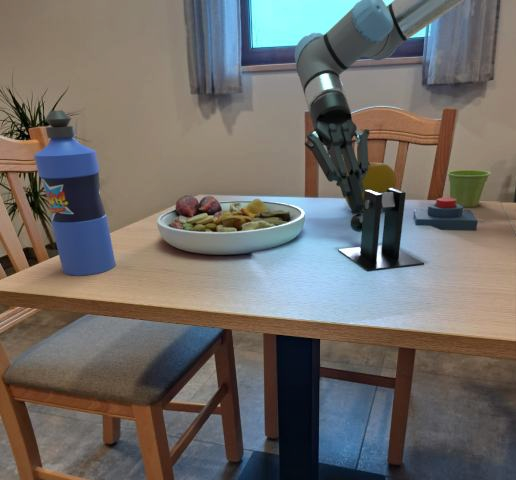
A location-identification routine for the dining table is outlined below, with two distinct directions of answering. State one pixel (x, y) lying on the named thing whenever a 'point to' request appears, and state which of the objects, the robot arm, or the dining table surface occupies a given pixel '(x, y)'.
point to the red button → (446, 203)
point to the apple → (378, 178)
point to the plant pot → (467, 186)
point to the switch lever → (385, 207)
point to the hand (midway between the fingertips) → (358, 209)
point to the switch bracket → (389, 251)
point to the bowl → (229, 225)
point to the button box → (446, 218)
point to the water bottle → (74, 200)
